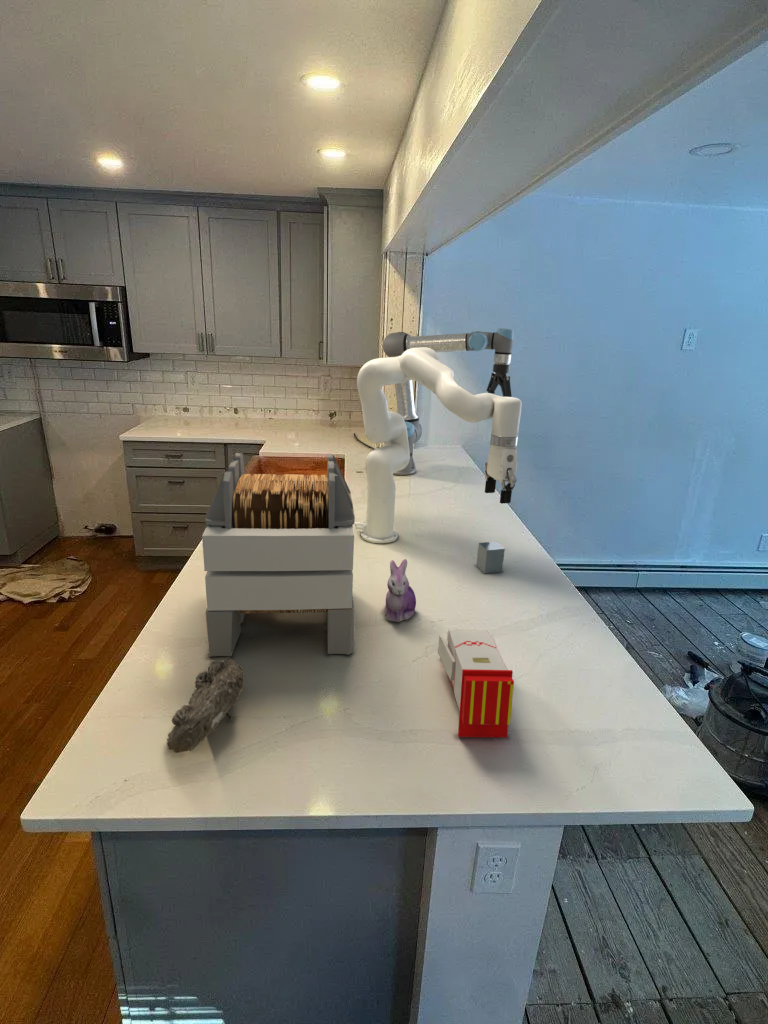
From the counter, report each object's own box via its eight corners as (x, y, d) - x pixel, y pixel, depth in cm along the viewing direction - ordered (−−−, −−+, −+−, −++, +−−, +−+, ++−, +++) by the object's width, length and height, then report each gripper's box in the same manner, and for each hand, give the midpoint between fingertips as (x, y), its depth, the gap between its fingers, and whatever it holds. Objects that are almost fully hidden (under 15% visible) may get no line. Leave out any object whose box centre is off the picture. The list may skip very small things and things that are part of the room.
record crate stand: (228, 587, 157) (220, 443, 143) (347, 586, 161) (350, 445, 147) (206, 659, 125) (193, 482, 111) (354, 655, 129) (359, 484, 115)
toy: (488, 613, 130) (523, 677, 101) (484, 667, 133) (517, 744, 104) (435, 612, 130) (455, 676, 101) (432, 666, 133) (451, 743, 103)
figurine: (392, 627, 141) (395, 572, 136) (374, 608, 149) (376, 556, 144) (425, 619, 145) (429, 566, 140) (405, 601, 154) (408, 550, 149)
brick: (502, 571, 174) (504, 548, 172) (484, 573, 173) (486, 550, 170) (493, 564, 179) (496, 541, 177) (476, 565, 178) (478, 542, 175)
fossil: (192, 660, 117) (244, 628, 112) (224, 691, 120) (276, 661, 115) (142, 746, 98) (202, 712, 93) (182, 779, 101) (242, 748, 96)
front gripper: (531, 447, 155) (523, 506, 161) (501, 434, 171) (495, 488, 177) (506, 448, 153) (499, 508, 159) (478, 434, 169) (473, 489, 175)
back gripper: (522, 366, 250) (517, 414, 257) (496, 361, 272) (491, 405, 280) (507, 366, 248) (502, 414, 255) (482, 360, 270) (478, 405, 278)
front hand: (497, 497), depth 168 cm, fingers open, 9 cm apart
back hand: (496, 410), depth 267 cm, fingers open, 13 cm apart
